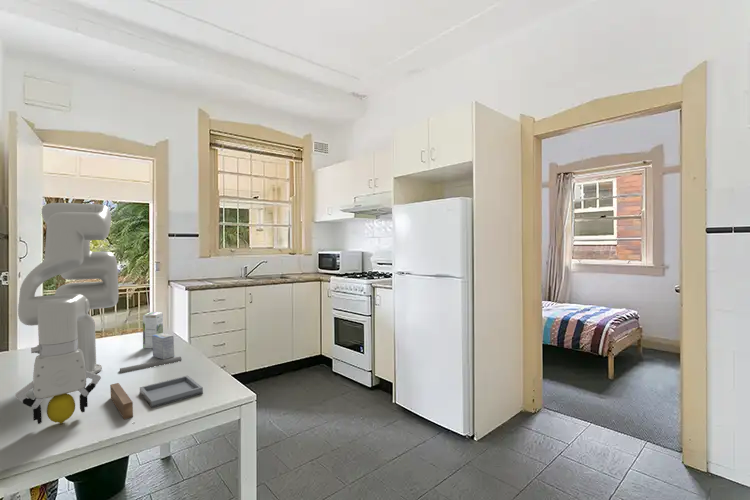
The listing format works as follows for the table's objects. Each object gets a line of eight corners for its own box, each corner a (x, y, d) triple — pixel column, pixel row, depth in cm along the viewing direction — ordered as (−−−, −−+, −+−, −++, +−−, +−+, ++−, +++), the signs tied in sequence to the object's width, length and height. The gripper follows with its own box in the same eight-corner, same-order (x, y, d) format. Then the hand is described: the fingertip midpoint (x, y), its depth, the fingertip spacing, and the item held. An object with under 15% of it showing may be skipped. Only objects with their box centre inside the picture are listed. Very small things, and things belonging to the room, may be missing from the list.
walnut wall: (124, 419, 97) (123, 404, 97) (110, 398, 110) (110, 384, 109) (133, 416, 98) (132, 401, 98) (118, 396, 111) (118, 382, 111)
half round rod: (182, 362, 142) (182, 357, 142) (121, 375, 129) (120, 370, 129) (179, 359, 145) (179, 355, 145) (119, 372, 132) (119, 367, 132)
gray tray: (151, 407, 103) (151, 401, 103) (139, 393, 113) (139, 387, 113) (202, 393, 113) (202, 387, 113) (187, 380, 122) (187, 375, 122)
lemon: (59, 429, 92) (58, 398, 91) (41, 427, 93) (40, 396, 92) (81, 419, 97) (80, 388, 97) (64, 417, 98) (62, 387, 98)
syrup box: (149, 344, 164) (148, 312, 163) (163, 344, 164) (163, 311, 164) (142, 348, 158) (141, 314, 157) (157, 348, 158) (156, 314, 158)
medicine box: (174, 356, 147) (174, 335, 147) (163, 360, 143) (162, 337, 143) (163, 353, 151) (163, 332, 151) (152, 356, 147) (151, 335, 147)
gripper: (10, 359, 85) (14, 434, 86) (103, 343, 98) (105, 409, 98) (10, 352, 91) (13, 423, 91) (98, 338, 103) (100, 400, 104)
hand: (61, 415), depth 95 cm, fingers open, 7 cm apart
